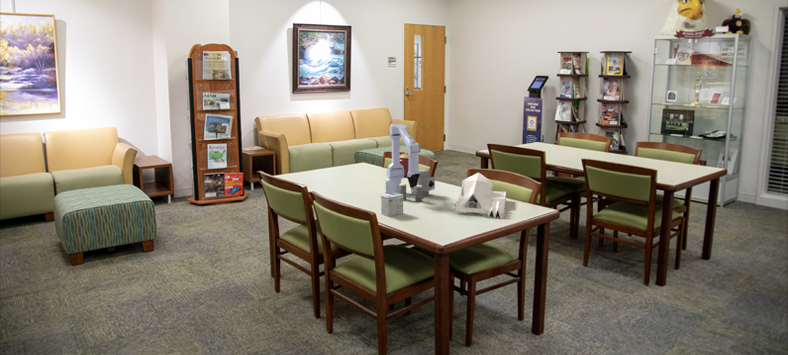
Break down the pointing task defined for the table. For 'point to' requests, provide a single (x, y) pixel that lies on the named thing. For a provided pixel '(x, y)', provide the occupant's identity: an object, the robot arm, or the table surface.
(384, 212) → the light bulb box
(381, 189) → the table surface
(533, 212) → the table surface
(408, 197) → the pad
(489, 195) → the white faceted model
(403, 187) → the post left
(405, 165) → the canister
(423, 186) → the circuit breaker
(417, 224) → the table surface
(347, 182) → the table surface
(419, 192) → the post right
